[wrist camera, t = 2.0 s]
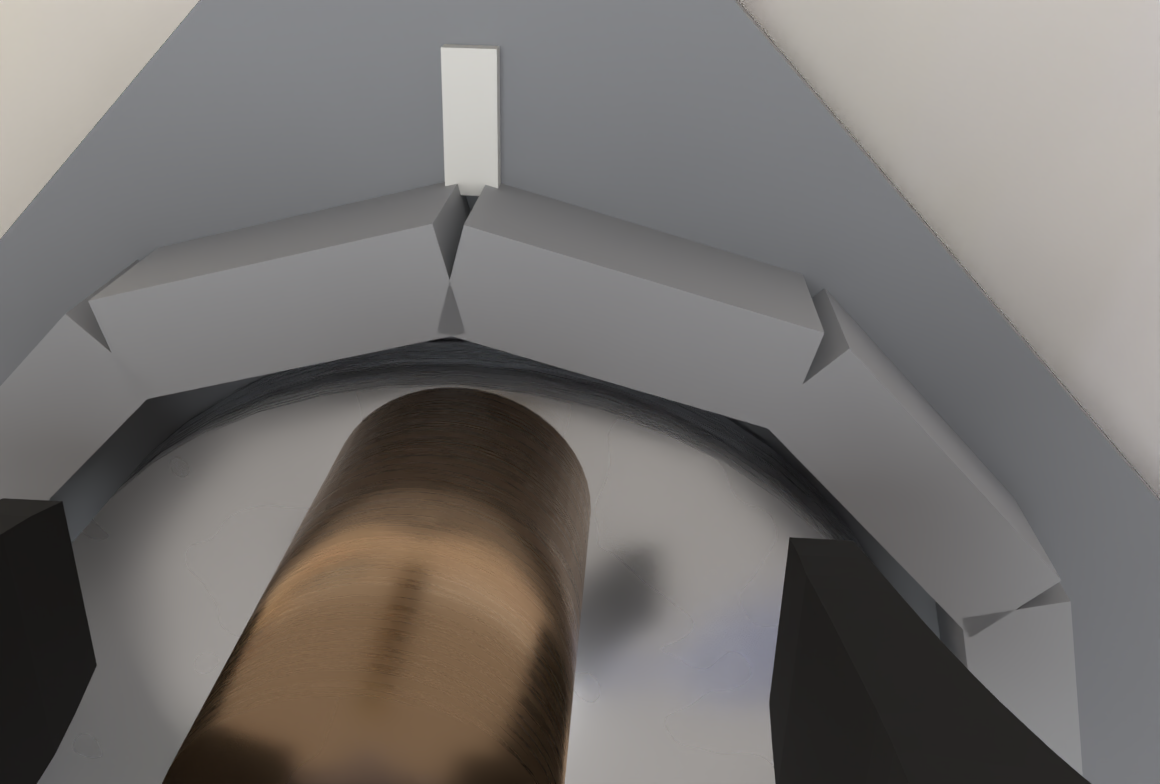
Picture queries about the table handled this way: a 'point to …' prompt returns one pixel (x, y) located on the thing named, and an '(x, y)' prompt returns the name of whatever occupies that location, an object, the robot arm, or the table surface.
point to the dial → (439, 585)
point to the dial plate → (632, 150)
